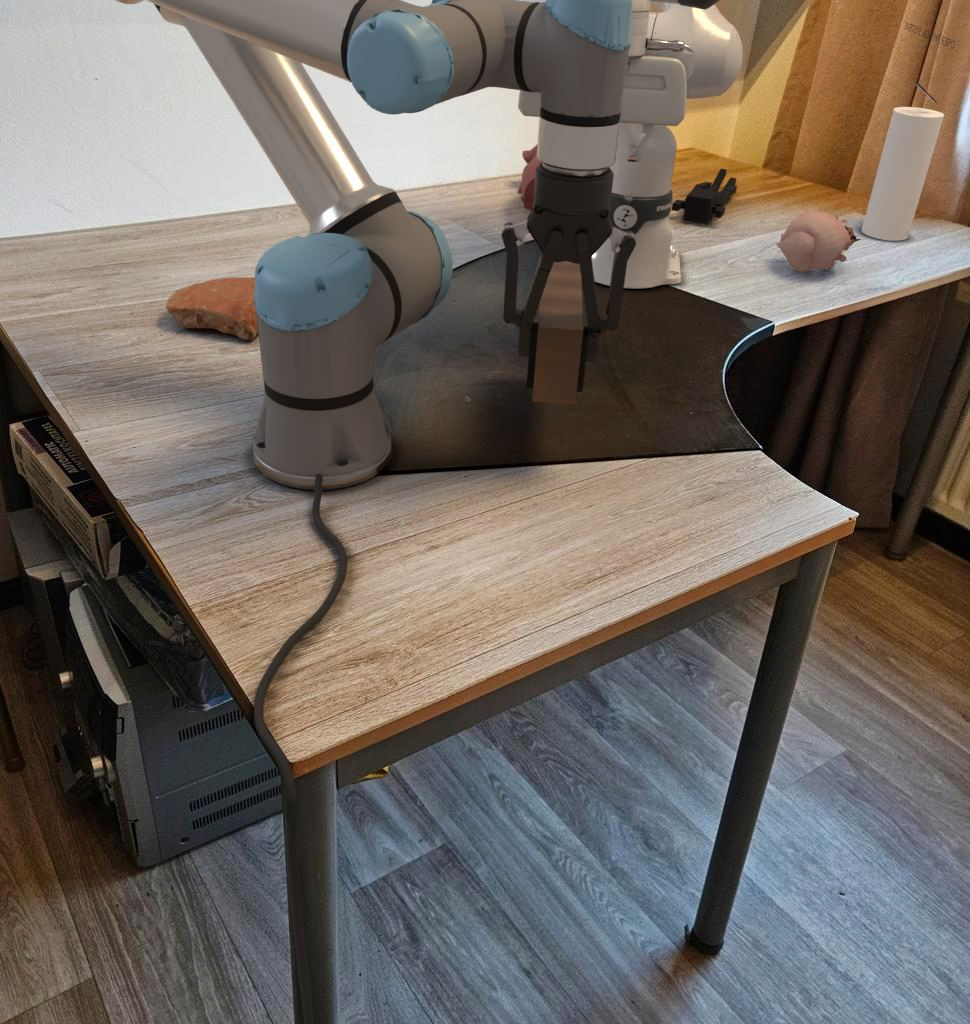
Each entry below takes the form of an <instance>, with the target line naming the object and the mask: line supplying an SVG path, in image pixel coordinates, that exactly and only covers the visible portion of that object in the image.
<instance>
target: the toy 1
mask: <svg viewBox="0 0 970 1024" xmlns="http://www.w3.org/2000/svg"><path fill="white" fill-rule="evenodd" d="M727 171H728V170H727V169H726V168H720V169H719V171H718V173H717V175H716V177H715V178H714V180H713V182H710V181H704V182H700V183H697V184H695V185H694V187H693V188H692V190H691V191H690V192H688V193H687V195H686V197H685V198H684V200H683V199H676V200H674V201H673V202H672V205H671V211H673V212H680V210H683V216H682V221H683V222H687V223H693V224H699V225H706V226H707V225H709V223H711V221H712V220H713V218H716V219H722V217H723V216H724V215H725V212H726V204H727V203H728V201H729V199H730V198H731V197H732V196H734V195H735V194H736V193H737V188H738V185H736V182H737V177H732V176H731V177H730V178H729V179H728V180H727V182H726V183H725V185H724V187H723V188H722V190H719V189H720V188H721V186H722V184H723V181H724V180H725V178H726V176H727Z"/></svg>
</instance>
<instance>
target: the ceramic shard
mask: <svg viewBox="0 0 970 1024" xmlns="http://www.w3.org/2000/svg"><path fill="white" fill-rule="evenodd" d="M254 292H255V277H221V278H217V279H216V278H215V279H211V280H206V281H204V282H198V283H194V284H191V285H188V286H186V287H182V288H180V289H177V290H176V291H175V292H174V293H173V294H171V295H170V296H169V298H168V299H167V302H166V304H165V308H166V311H167V312H168V313H169V314H170V315H172V317H174V319H175V321H176V323H177V324H178V325H179V327H181V328H183V329H213V330H217V331H219V332H221V333H223V334H230V335H233V336H237V337H238V338H240V339H242V340H246V341H251V340H252V341H253V339H255V338H256V336H257V334H259V332H258V323H257V313H256V309H255V305H254Z"/></svg>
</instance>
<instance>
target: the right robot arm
mask: <svg viewBox="0 0 970 1024" xmlns="http://www.w3.org/2000/svg"><path fill="white" fill-rule="evenodd" d="M720 1H721V0H632V15H631V31H630V39H631V47H630V49H629V54H628V61H627V68H626V76H625V83H624V90H623V98H622V105H621V116H620V127H619V136H618V144H617V153H616V162H615V164H614V165H612V166H611V167H610V169H611V170H612V172H613V173H614V178H613V186H612V195H611V203H610V212H609V215H610V219H611V221H612V226H613V227H615V228H618V229H620V230H622V231H624V232H625V231H628V230H630V231H632V232H633V233H634V235H635V240H636V246H635V248H634V250H633V252H632V254H631V256H630V258H629V259H628V261H627V268H626V275H625V282H624V289H648V288H649V289H650V288H654V287H655V288H656V287H659V286H664V285H677V284H680V283H682V270H681V260H680V251H679V249H677V248H675V247H674V242H675V235H676V231H675V230H674V226H673V223H672V220H671V218H670V214H671V211H672V204H673V201H674V200H673V190H672V182H673V176H674V169H675V163H676V155H677V149H678V144H677V139H676V137H675V134H674V132H672V130H671V129H670V128H669V127H678V126H679V125H680V124H681V123H682V122H683V121H684V119H685V116H686V108H687V100H694V99H706V98H711V97H713V98H714V97H720V96H722V95H723V94H725V93H726V92H727V91H728V90H729V89H730V88H731V87H732V85H733V84H734V83H735V82H736V79H737V78H738V77H739V74H740V71H741V68H742V64H743V56H744V52H743V51H744V50H743V43H742V39H741V37H740V35H739V32H738V30H737V29H736V27H735V26H734V24H732V23H730V21H728V19H726V18H725V17H724V15H723V14H722V13H721V12H720V10H719V9H718V7H717V6H716V4H718V3H719V2H720ZM651 4H652V5H654V6H656V7H657V8H659V9H660V10H661V11H660V12H651ZM517 102H518V103H517V108H518V110H519V112H520V113H521V115H522V116H524V117H533V118H534V117H535V118H540V108H541V93H538V92H534V93H533V92H526V91H522V90H519V94H518V101H517ZM611 243H612V241H611V239H609V238H608V239H607V240H606V241H605V242H604V244H603V245H602V246H601V247H600V248H599V249H598V250H597V251H596V252H595V254H594V255H593V256H592V265H593V272H594V280H595V283H598V284H600V285H605V286H609V287H610V282H611V274H612V267H613V259H614V252H613V251H612V248H611Z"/></svg>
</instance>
